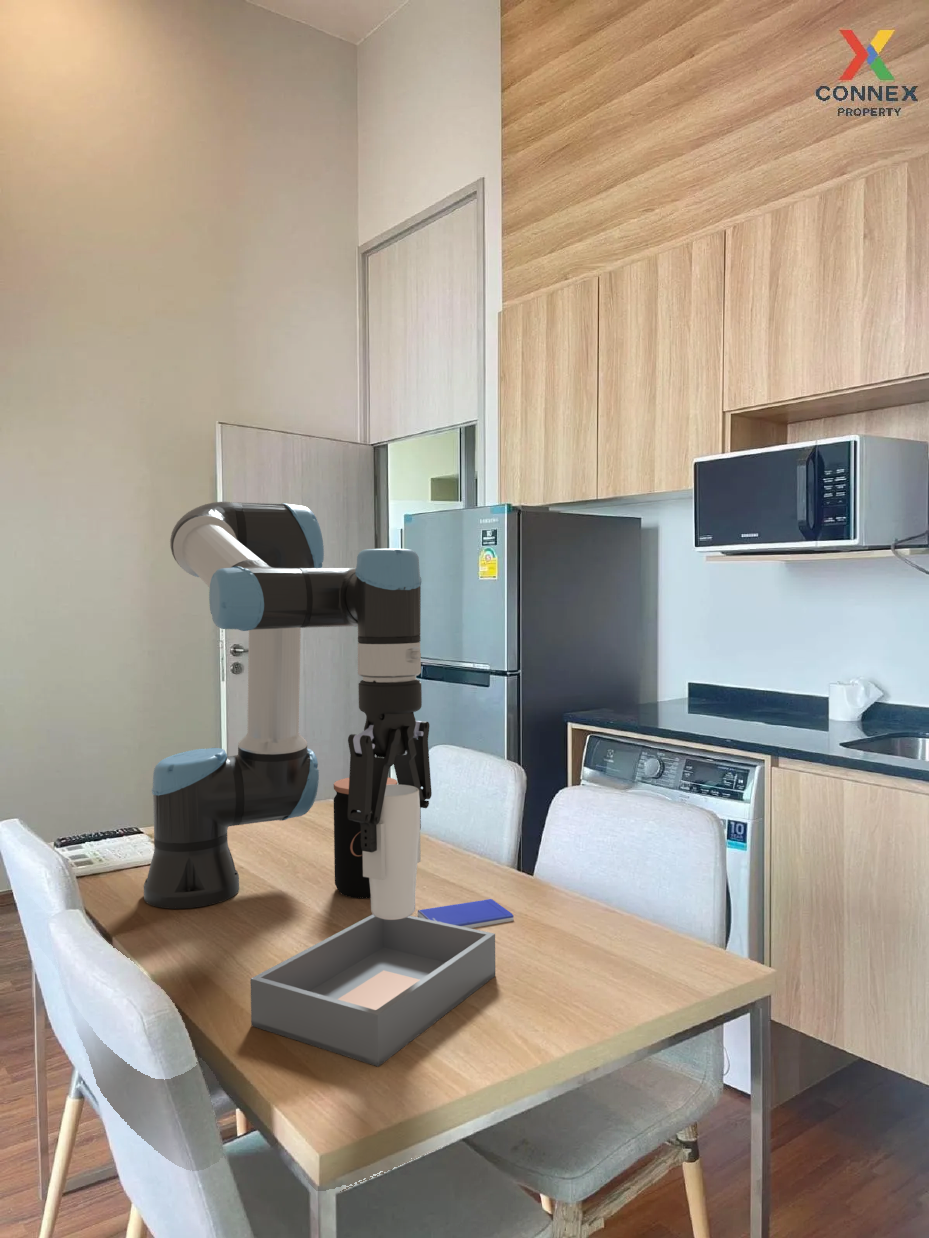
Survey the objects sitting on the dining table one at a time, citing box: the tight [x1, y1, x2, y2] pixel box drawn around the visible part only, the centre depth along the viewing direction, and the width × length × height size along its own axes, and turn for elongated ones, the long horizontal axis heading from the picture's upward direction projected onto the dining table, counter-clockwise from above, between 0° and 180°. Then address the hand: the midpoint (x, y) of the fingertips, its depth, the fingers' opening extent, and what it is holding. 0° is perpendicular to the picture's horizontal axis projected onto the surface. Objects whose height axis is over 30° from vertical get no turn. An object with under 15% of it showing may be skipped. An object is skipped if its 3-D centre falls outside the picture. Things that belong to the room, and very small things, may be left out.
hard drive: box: [417, 898, 514, 929], centre depth 137 cm, size 2×8×12 cm
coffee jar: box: [333, 776, 398, 899], centre depth 151 cm, size 11×11×18 cm
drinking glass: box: [369, 783, 421, 920], centre depth 108 cm, size 7×7×15 cm
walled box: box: [250, 914, 496, 1068], centre depth 110 cm, size 18×26×6 cm
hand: (392, 868), depth 109 cm, fingers closed on drinking glass, 7 cm apart
